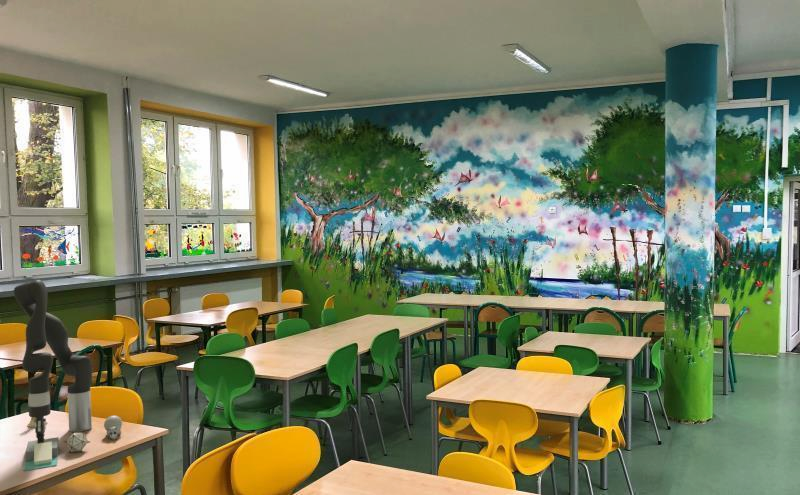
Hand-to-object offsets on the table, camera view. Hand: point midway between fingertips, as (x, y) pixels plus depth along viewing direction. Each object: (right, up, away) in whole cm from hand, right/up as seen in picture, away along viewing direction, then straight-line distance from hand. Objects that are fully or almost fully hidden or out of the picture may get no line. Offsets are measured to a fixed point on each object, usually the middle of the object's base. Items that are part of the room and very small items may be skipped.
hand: (41, 446), depth 259 cm
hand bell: (-26, -4, +44) cm, 51 cm away
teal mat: (+4, -5, -7) cm, 9 cm away
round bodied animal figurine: (+18, -4, +25) cm, 31 cm away
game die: (+11, -4, +7) cm, 14 cm away
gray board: (-2, -5, +4) cm, 7 cm away
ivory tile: (+3, -2, -4) cm, 5 cm away
